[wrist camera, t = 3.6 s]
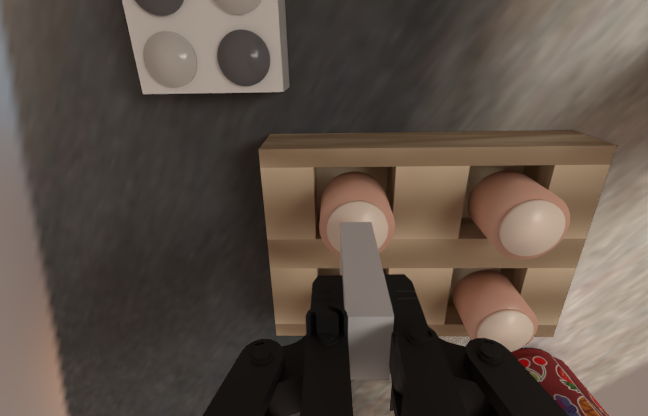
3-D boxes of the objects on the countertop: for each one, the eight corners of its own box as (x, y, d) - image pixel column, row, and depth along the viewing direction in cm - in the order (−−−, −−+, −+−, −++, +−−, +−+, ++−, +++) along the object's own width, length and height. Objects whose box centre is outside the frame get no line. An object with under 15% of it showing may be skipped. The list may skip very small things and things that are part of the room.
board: (269, 133, 24) (258, 149, 20) (572, 130, 23) (617, 145, 19) (283, 299, 29) (276, 335, 26) (525, 300, 29) (553, 336, 25)
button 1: (320, 171, 21) (317, 195, 17) (387, 171, 21) (398, 194, 17) (321, 230, 22) (319, 262, 19) (384, 230, 22) (393, 262, 19)
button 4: (456, 269, 23) (477, 306, 20) (517, 269, 23) (548, 306, 20) (448, 316, 25) (466, 357, 22) (505, 316, 25) (532, 358, 22)
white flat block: (140, -43, 20) (106, -59, 17) (282, -47, 19) (272, -64, 16) (165, 88, 22) (140, 94, 20) (289, 86, 22) (283, 92, 19)
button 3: (473, 170, 21) (500, 193, 17) (542, 169, 20) (583, 193, 17) (463, 230, 22) (486, 262, 19) (527, 230, 22) (562, 262, 19)
